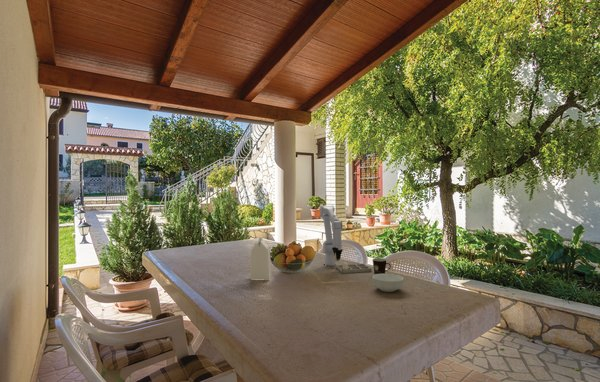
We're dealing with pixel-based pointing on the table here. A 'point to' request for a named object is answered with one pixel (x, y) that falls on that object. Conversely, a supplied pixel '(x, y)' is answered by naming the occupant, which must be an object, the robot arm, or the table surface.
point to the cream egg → (345, 266)
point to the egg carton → (354, 268)
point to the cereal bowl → (387, 282)
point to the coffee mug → (380, 265)
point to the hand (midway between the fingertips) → (337, 258)
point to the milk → (260, 261)
